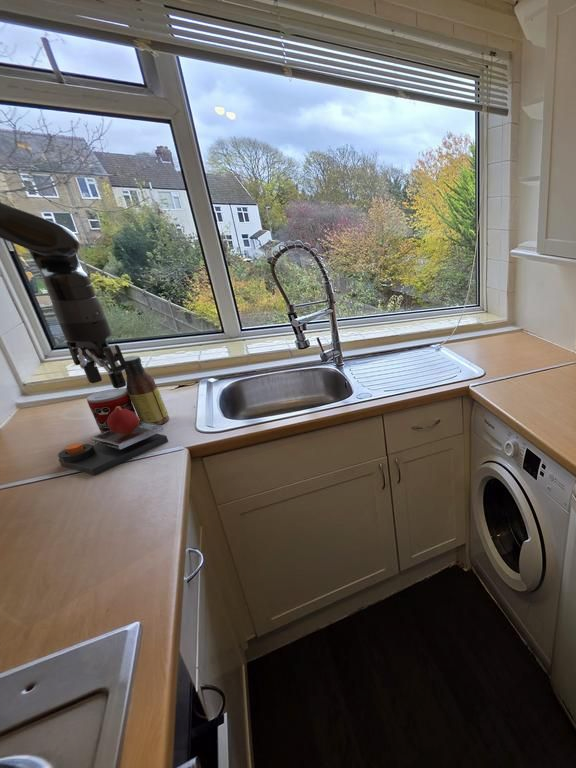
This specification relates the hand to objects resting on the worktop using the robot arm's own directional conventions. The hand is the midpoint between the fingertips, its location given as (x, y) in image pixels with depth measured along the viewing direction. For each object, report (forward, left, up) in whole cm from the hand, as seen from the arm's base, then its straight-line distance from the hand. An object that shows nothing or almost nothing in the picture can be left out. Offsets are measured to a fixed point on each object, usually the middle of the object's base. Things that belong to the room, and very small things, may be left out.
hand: (108, 384), depth 97 cm
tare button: (-8, +4, -15) cm, 17 cm away
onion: (0, 0, -14) cm, 14 cm away
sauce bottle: (+11, +9, -18) cm, 23 cm away
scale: (-3, +1, -18) cm, 18 cm away
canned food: (+5, +13, -18) cm, 23 cm away
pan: (0, 0, -14) cm, 14 cm away
